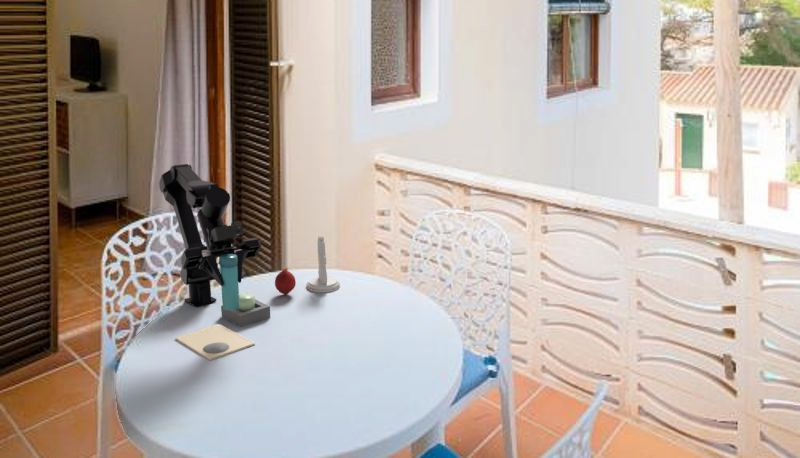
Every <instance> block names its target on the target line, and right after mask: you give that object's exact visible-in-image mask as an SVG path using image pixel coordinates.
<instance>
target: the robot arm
mask: <svg viewBox="0 0 800 458" xmlns="http://www.w3.org/2000/svg"><path fill="white" fill-rule="evenodd" d="M158 184H159V190H160V192H161V193H162V194H163V197H164V199H165V201H166V202H167V203H168V204H170V206H172V207H173V210H174V213H175V217H176V220H177V224H178V227H179V231H180V234H181V238H182V240H183V244H184V248H185V249H184V250H183V252H182V256H181V259H180V263H181V269H180V273H179V274H180V280H181V282H183V284H184V285H186V286H187V287H188V297H187V298H184V299H183V300H184V302H186V303H187V304H189V305H192V306H193V307H200V306H204V305H207V304H210V303H215V302H217V298H215V297H213V296H212V290H211V289H212V288H211V281H216V282H217V283H218V284H219V285H220V286H223V285H224V282H223V279H222V276H221V270H220V267H219V263H218V262H217V259H216V258H219V257H220V256H221V255H225V254H235V255H237V259H238V265H237V267H238V284H240V283H242V276H243V275H242V273H243V271H242V269H243V262H245V260H246V259H252V258H255V257H257V256H258V254H259V252H260V251H261V248H262V244H261V241H260V240H259V239H258V238H257V237H253V238H252V237H251V238H245V239H242V241H241V243H240V245H236V246H233V245H234V243H235V239H237V237H238V236H241V235H242V234H244V231H243V225H242V223H241V221H239V220H238V221H233V222H232V223H230V225H228V224H225V221H224V219H223V217H224V216H225V214H226V211H227V209H228V207H229V204H230V202H231V195H230V193H229V192H228V191H227V190H226V189H225V188H222V187H219V184H218V183H213V182H211V181H207V180H203V179H201V178H200V176H199V175H198V174H197V173H196V172H195V171H194V170H193V167H192V165H191V164H188V163H183V164H173V166H172V165H171V167H170V169H169V170H167V171H165V172H164V173H163V174H162V175H161V176H160V178H159V183H158ZM198 208H199V210H198V211H197V214H196V217H197V221H196V217H195V214H194V211H193V209H198ZM197 222H198V223H199V226H200V230H201V233H202V236H203V237H202V238H203V239H202V238H201V235H200V231H199V228H198V223H197ZM204 243H205V245H204Z"/></svg>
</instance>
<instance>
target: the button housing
mask: <svg viewBox="0 0 800 458" xmlns="http://www.w3.org/2000/svg"><path fill="white" fill-rule="evenodd" d="M220 308H221V310H220V311H221V317H222V318H223V319H226V320H227V321H230V322H231V323H233V324H235V325H236V326H239V327H243V326H248V325H250V324H253V323H256V322H260V321H263V320H265V319H269V318H271V306H270V305H268V304H267V303H264V302H261V301H259V300H257V299H255V309H251V310H248V311H245V312H240V311H238V310H224V309H223V304H222V305H221V307H220Z"/></svg>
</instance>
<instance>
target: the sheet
mask: <svg viewBox="0 0 800 458" xmlns="http://www.w3.org/2000/svg"><path fill="white" fill-rule="evenodd" d="M174 338H175V339H174V340H176V341H178V342H179V343H181V344H183V345H184V346H186V347H187V348H189V349H191V350H192V351H194V352H196V353H197V354H199V355H200V356H202V357H204V358H205V359H207V360H208V361H213V360H215V359H218V358H220V357H224V356H226V355H230V354H232V353H236V352H238V351H241V350H243V349H247V348H249V347H252V346H255V345H256V343H255V342H253V341H252V340H250V339H248V338H246V337H244V336H242V335H240V334H239V333H237V332H235V331H234V330H232V329H229V328H228V327H226V326H224V325H222V324H221V323H217V324H214V325H211V326H207V327H205V328H202V329H198V330H195V331H191V332H189V333H185V334H182V335H179V336H175V337H174Z"/></svg>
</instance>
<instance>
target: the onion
mask: <svg viewBox="0 0 800 458" xmlns="http://www.w3.org/2000/svg"><path fill="white" fill-rule="evenodd" d="M296 285H297V283H296V277H295V276H294V274H293V273H292V272H290V271H289V270H288V268H287V267H283V269H282V270H281V271H280V272H278V274H277V275H276V276H275V279H274V286H275V289H276V290H277V291H278V292H279V293H281V294H283V295H285V296H287V295H289V294H290V293H291V292H292V291H293V290H294V288H295V287H296Z"/></svg>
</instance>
